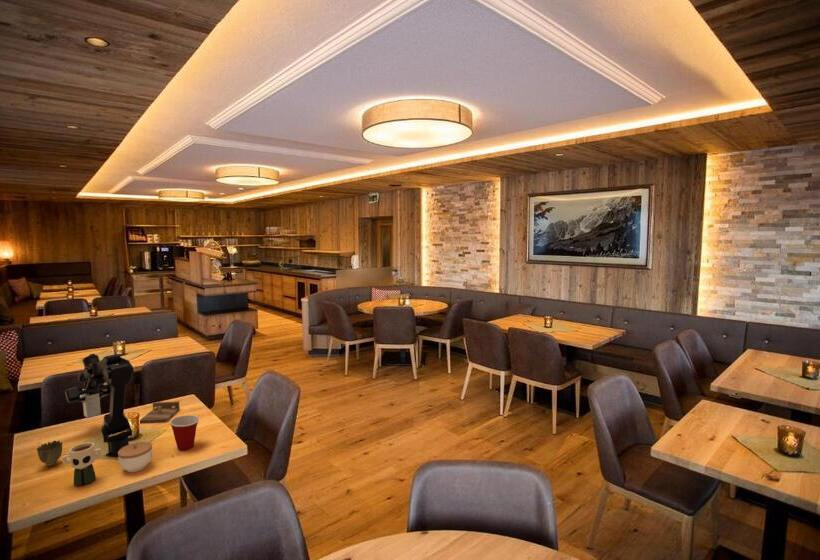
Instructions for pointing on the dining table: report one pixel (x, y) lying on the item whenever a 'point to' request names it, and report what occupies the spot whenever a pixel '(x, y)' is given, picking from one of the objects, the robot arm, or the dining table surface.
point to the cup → (50, 453)
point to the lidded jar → (135, 456)
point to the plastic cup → (184, 431)
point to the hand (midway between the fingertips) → (90, 399)
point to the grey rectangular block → (91, 405)
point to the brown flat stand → (161, 412)
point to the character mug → (82, 462)
